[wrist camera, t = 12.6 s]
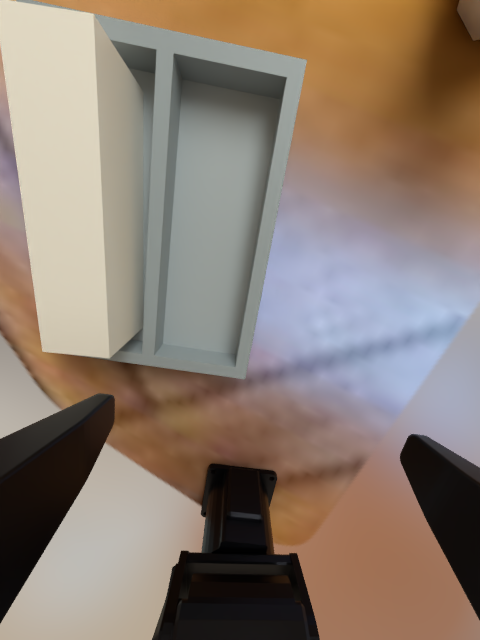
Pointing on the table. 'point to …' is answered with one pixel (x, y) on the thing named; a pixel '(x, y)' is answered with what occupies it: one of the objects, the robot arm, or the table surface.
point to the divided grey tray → (205, 190)
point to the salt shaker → (470, 16)
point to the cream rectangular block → (77, 175)
